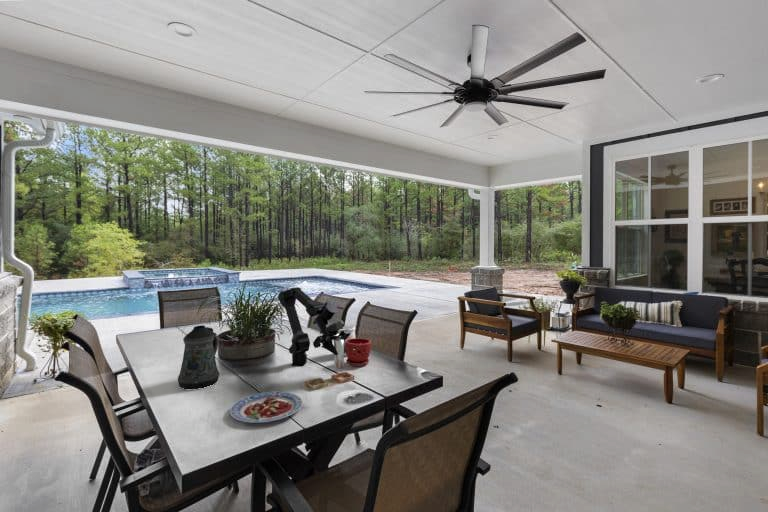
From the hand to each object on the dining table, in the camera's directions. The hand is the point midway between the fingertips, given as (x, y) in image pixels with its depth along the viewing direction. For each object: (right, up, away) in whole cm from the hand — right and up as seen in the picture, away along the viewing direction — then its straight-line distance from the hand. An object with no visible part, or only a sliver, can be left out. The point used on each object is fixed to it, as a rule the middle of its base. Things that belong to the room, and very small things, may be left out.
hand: (341, 353), depth 170 cm
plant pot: (+6, -11, +23) cm, 26 cm away
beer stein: (-63, -12, -2) cm, 64 cm away
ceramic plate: (-24, -14, -30) cm, 41 cm away
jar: (-2, -11, +39) cm, 40 cm away
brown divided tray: (-4, -12, -4) cm, 14 cm away
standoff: (-1, -6, +1) cm, 6 cm away
